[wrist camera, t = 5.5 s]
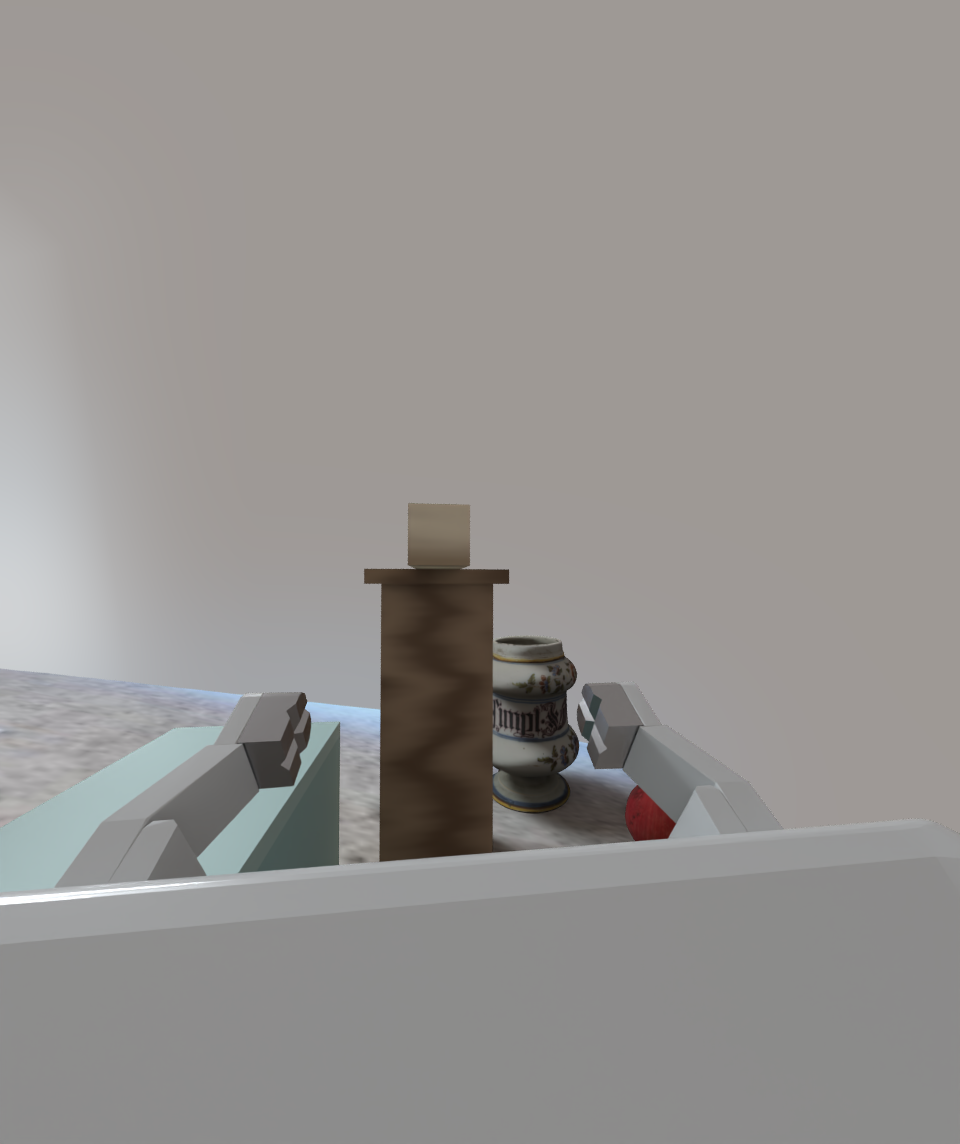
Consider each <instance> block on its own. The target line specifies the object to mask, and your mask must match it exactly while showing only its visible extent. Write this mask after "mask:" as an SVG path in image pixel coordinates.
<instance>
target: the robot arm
mask: <svg viewBox="0 0 960 1144" xmlns="http://www.w3.org/2000/svg"><path fill="white" fill-rule="evenodd" d="M582 695H583V697H584V699H583V700H582V701H581V702H580V703H579V705H578V709H577V721H578V726H579V729H580V732H581V735H582V736H583V737H584V738H586V739H587V740H588V741H589V743H588V746H587V750H588V753H589V755H590V758H591V760H592V763H593V766H594V768H595V769H617V768H623V771H624V772H625V773H626V774H627V775H628V776H629V777H630V778H631V779H632V780H633V781H634V782H635V783H636V784H637V785H638V786H639V787H640V788H641V789H642V790H643V791H644V792H645V793H646V794H647V795H648V796H649V797H650V798H651V799H652V800H653V801H654V802H655V803H656V804H657V805H658V806H659V807H660V808H661V809H662V810H663V811H664V812H665V813H666V814H667V815H668V816H669V817H670V818H671V819H672V820H673V821H674V822H675V823H676V825H675V827H674V828H673V830H672V832H671V834H670V836H669V838H668V839H659V840H646V841H634V842H621V843H609V844H597V845H584V846H572V847H559V848H547V849H534V850H522V851H509V852H497V853H484V854H471V855H459V856H446V857H434V858H421V859H409V860H396V861H384V862H372V863H359V864H347V865H334V866H322V867H310V868H297V869H285V870H272V871H260V872H247V873H235V874H223V875H210V876H207V874H206V873H205V871H204V869H203V868H202V866H201V864H200V863H199V861H198V859H197V857H198V856H199V855H200V854H201V853H202V852H203V851H204V850H205V849H206V848H207V847H208V846H209V845H210V844H211V843H212V841H213V840H214V839H215V838H216V837H217V836H218V835H219V834H220V833H221V832H222V831H223V830H224V829H225V828H226V826H227V825H228V824H229V823H230V822H231V821H232V820H233V819H234V818H235V817H236V816H237V815H238V814H239V813H240V811H241V810H242V809H243V808H244V807H245V806H246V805H247V804H248V803H249V802H250V801H251V800H252V799H253V798H254V796H255V795H256V794H257V793H258V792H259V789H266V788H278V787H290V786H294V784H295V781H296V778H297V775H298V772H299V769H300V766H301V763H302V762H301V758H300V753H301V752H303V751H304V750H305V749H306V748H307V745H308V742H309V739H310V732H311V717H310V713H309V712H308V711H307V710H305V706H306V704H307V699H306V695H305V693H302V692H299V693H298V692H297V693H296V692H294V693H246V694H245V695H243V696H242V697H241V698H240V700H239V702H238V703H237V705H236V707H235V708H234V710H233V712H232V714H231V715H230V717H229V719H228V720H227V722H226V724H225V726H224V727H223V729H222V731H221V732H220V734H219V736H218V738H217V739H216V741H215V743H214V745H207V746H205V747H204V748H203V749H201V750H200V751H199V752H197V753H196V754H194V755H193V756H192V757H190V758H189V759H188V760H186V761H185V762H183V763H182V764H181V765H179V766H178V767H177V768H175V769H174V770H172V771H171V772H170V773H168V774H167V775H166V776H164V777H163V778H161V779H160V780H159V781H157V782H156V783H155V784H153V785H152V786H150V787H149V788H148V789H146V790H145V791H144V792H142V793H141V794H139V795H138V796H137V797H135V798H134V799H133V800H131V801H130V802H128V803H127V804H126V805H124V806H123V807H122V808H120V809H119V810H117V811H116V812H115V813H113V814H112V815H111V816H109V817H108V818H106V819H105V820H104V821H102V822H101V823H100V825H99V826H98V828H97V829H96V830H95V832H94V833H93V834H92V836H91V837H90V839H89V840H88V841H87V843H86V844H85V845H84V847H83V848H82V850H81V851H80V852H79V854H78V855H77V856H76V858H75V859H74V861H73V862H72V863H71V865H70V866H69V867H68V869H67V870H66V872H65V873H64V874H63V876H62V877H61V878H60V880H59V881H58V883H57V884H56V885H55V887H54V888H48V889H36V890H23V891H11V892H0V1144H960V833H958V832H956V831H954V830H952V829H950V828H948V827H945V826H943V825H941V824H939V823H937V822H934V821H931V820H926V819H902V820H892V821H881V822H868V823H856V824H843V825H831V826H818V827H806V828H795V829H783V828H782V826H781V825H780V824H779V822H778V821H777V819H776V818H775V817H774V815H773V814H772V813H771V811H770V810H769V809H768V807H767V806H766V804H765V803H764V802H763V800H762V799H761V798H760V796H759V795H758V794H757V792H756V791H755V790H754V788H753V787H752V786H751V784H750V783H749V782H748V781H747V780H746V779H744V778H743V777H741V776H740V775H738V774H737V773H735V772H734V771H733V770H731V769H730V768H728V767H727V766H725V765H724V764H722V763H721V762H719V761H718V760H717V759H715V758H714V757H712V756H711V755H709V754H708V753H706V752H705V751H704V750H702V749H701V748H699V747H698V746H696V745H695V744H693V743H692V742H691V741H689V740H688V739H686V738H685V737H683V736H682V735H680V734H679V733H677V732H676V731H675V730H673V729H672V728H670V727H669V726H667V725H662V724H661V723H660V721H659V719H658V718H657V716H656V715H655V713H654V712H653V710H652V708H651V707H650V705H649V703H648V702H647V701H646V699H645V697H644V695H643V694H642V692H641V691H640V689H639V688H638V686H637V684H635V683H634V682H618V683H592V684H591V683H590V684H585V685H584V686H583V689H582Z"/></svg>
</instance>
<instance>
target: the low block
mask: <svg viewBox="0 0 960 1144" xmlns="http://www.w3.org/2000/svg"><path fill="white" fill-rule="evenodd" d="M223 727H224V726H214V727H188V728H174V729H172V730H171V731H169V732H167V733H165V734H164V735H162V736H160V737H158V738H157V739H155V740H153V741H151V742H150V743H148V744H146V745H144V746H143V747H141V748H139V749H137V750H136V751H134V752H132V753H130V754H129V755H127V756H125V757H123V758H122V759H120V760H118V761H116V762H115V763H113V764H111V765H109V766H108V767H106V768H104V769H102V770H101V771H99V772H97V773H95V774H94V775H92V776H90V777H88V778H87V779H85V780H83V781H81V782H80V783H78V784H76V785H74V786H73V787H71V788H69V789H67V790H66V791H64V792H62V793H60V794H59V795H57V796H55V797H53V798H52V799H50V800H48V801H46V802H45V803H43V804H41V805H39V806H38V807H36V808H34V809H32V810H31V811H29V812H27V813H25V814H24V815H22V816H20V817H18V818H17V819H15V820H13V821H11V822H10V823H8V824H6V825H4V826H3V827H1V828H0V892H11V891H23V890H36V889H48V888H54V887H55V885H56V884H57V883H58V881H59V880H60V878H61V877H62V876H63V874H64V873H65V872H66V870H67V869H68V867H69V866H70V865H71V863H72V862H73V861H74V859H75V858H76V856H77V855H78V854H79V852H80V851H81V850H82V848H83V847H84V845H85V844H86V843H87V841H88V840H89V839H90V837H91V836H92V834H93V833H94V832H95V830H96V829H97V828H98V826H99V825H100V823H101V822H102V821H104V820H105V819H106V818H108V817H109V816H111V815H112V814H113V813H115V812H116V811H117V810H119V809H120V808H122V807H123V806H124V805H126V804H127V803H128V802H130V801H131V800H133V799H134V798H135V797H137V796H138V795H139V794H141V793H142V792H144V791H145V790H146V789H148V788H149V787H150V786H152V785H153V784H155V783H156V782H157V781H159V780H160V779H161V778H163V777H164V776H166V775H167V774H168V773H170V772H171V771H172V770H174V769H175V768H177V767H178V766H179V765H181V764H182V763H183V762H185V761H186V760H188V759H189V758H190V757H192V756H193V755H194V754H196V753H197V752H199V751H200V750H201V749H203V748H204V747H205V746H207V745H214V743H215V741H216V739H217V738H218V736H219V734H220V732H221V731H222V729H223ZM300 758H301V762H302V763H301V766H300V769H299V772H298V775H297V778H296V781H295V784H294V786H290V787H278V788H266V789H259V792H258V793H257V794H256V795H255V796H254V798H253V799H252V800H251V801H250V802H249V803H248V804H247V805H246V806H245V807H244V808H243V809H242V810H241V811H240V813H239V814H238V815H237V816H236V817H235V818H234V819H233V820H232V821H231V822H230V823H229V824H228V825H227V826H226V828H225V829H224V830H223V831H222V832H221V833H220V834H219V835H218V836H217V837H216V838H215V839H214V840H213V841H212V843H211V844H210V845H209V846H208V847H207V848H206V849H205V850H204V851H203V852H202V853H201V854H200V855H199V856H198V857H197V859H198V861H199V863H200V864H201V866H202V868H203V869H204V871H205V873H206V874H207V876H210V875H223V874H235V873H247V872H260V871H272V870H285V869H297V868H310V867H322V866H334V865H339V780H340V722H317V723H311V732H310V739H309V742H308V745H307V748H306V749H305V750H304V751H303V752H301V753H300Z"/></svg>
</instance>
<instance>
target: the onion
mask: <svg viewBox="0 0 960 1144" xmlns="http://www.w3.org/2000/svg"><path fill="white" fill-rule="evenodd" d="M625 818H626V825H627V827H628V829H629V831H630V833H631V835H632V837H633V839H634V840H635V841H646V840H659V839H668V838H669V836H670V834H671V832H672V830H673V828H674V827H675V825H676V823H675V822H674V821H673V820H672V819H671V818H670V817H669V816H668V815H667V814H666V813H665V812H664V811H663V810H662V809H661V808H660V807H659V806H658V805H657V804H656V803H655V802H654V801H653V800H652V799H651V798H650V797H649V796H648V795H647V794H646V793H645V792H644V791H643V790H642V789H641V788H640V787H639V786H638V785H637V786H636V787H635V788H634V789H633V790H632V792H631V793H630V795H629V798H628V801H627V805H626V812H625Z"/></svg>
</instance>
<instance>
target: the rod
mask: <svg viewBox="0 0 960 1144" xmlns="http://www.w3.org/2000/svg"><path fill="white" fill-rule="evenodd" d="M408 565H409V566H411V567H413V568H415V569H462V568H465V567H467V566H470V505H457V504H418V503H416V504H415V503H409V504H408Z"/></svg>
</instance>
